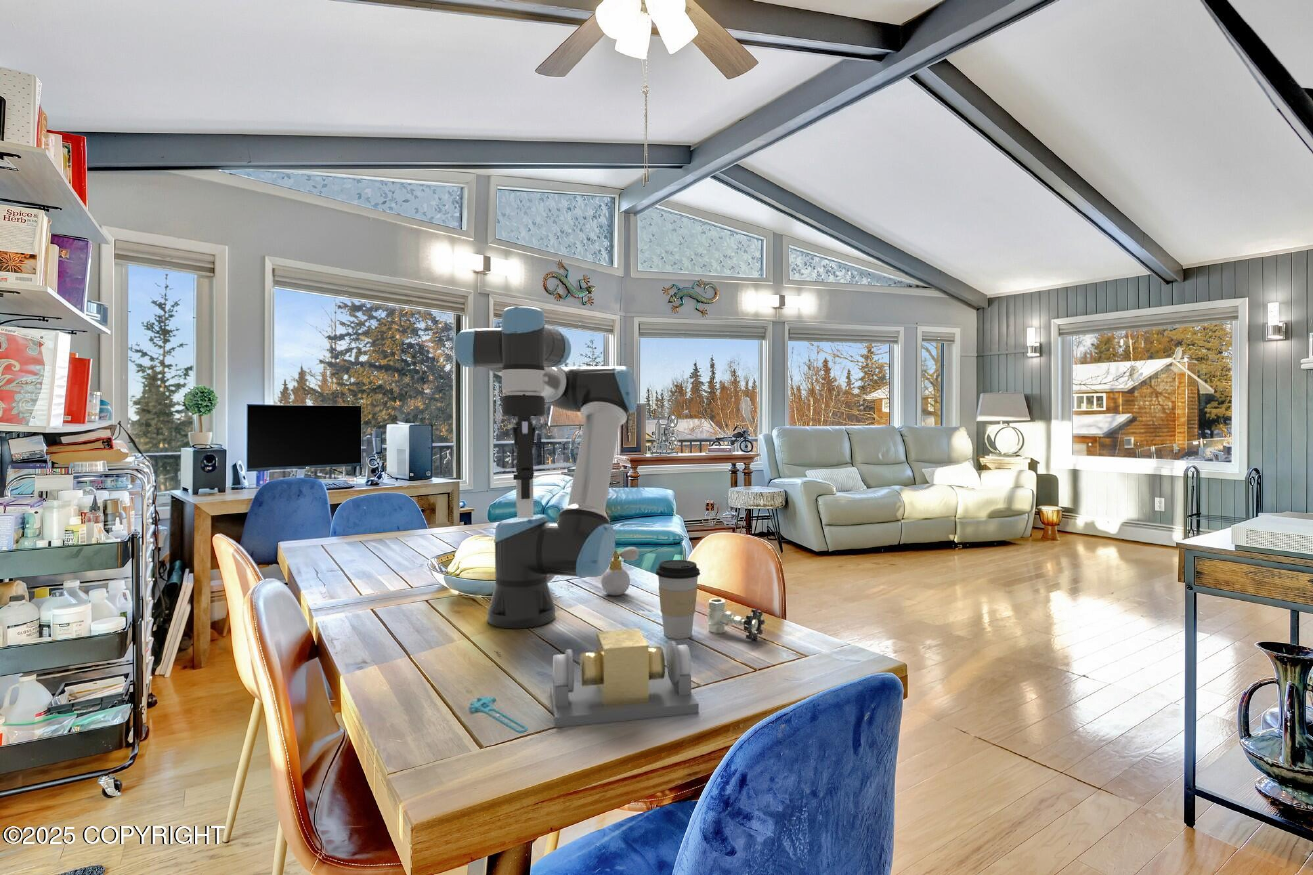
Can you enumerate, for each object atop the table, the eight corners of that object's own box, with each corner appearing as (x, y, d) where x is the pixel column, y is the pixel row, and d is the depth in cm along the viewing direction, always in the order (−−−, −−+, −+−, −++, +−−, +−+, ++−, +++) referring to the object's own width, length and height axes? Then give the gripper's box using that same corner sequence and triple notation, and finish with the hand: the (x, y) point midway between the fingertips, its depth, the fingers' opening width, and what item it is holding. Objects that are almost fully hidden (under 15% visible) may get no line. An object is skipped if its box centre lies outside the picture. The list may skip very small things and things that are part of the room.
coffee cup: (686, 645, 130) (686, 571, 130) (646, 636, 135) (646, 565, 135) (707, 631, 138) (708, 562, 138) (669, 624, 143) (670, 557, 143)
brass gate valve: (578, 687, 106) (578, 633, 106) (655, 680, 109) (656, 627, 109) (584, 708, 98) (584, 650, 98) (667, 700, 101) (667, 643, 101)
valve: (700, 632, 138) (747, 645, 130) (700, 602, 138) (747, 613, 130) (717, 625, 143) (764, 637, 135) (718, 595, 143) (765, 605, 135)
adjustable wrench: (461, 702, 102) (489, 693, 106) (461, 708, 102) (489, 698, 106) (510, 732, 92) (539, 721, 96) (510, 739, 92) (539, 727, 96)
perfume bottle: (595, 594, 167) (595, 548, 167) (622, 587, 174) (622, 543, 174) (614, 600, 162) (614, 552, 162) (642, 592, 169) (642, 547, 169)
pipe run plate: (550, 693, 107) (550, 638, 107) (679, 682, 112) (679, 629, 112) (555, 727, 95) (555, 666, 95) (698, 712, 100) (698, 654, 100)
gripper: (549, 392, 105) (549, 522, 106) (541, 396, 129) (541, 502, 130) (501, 391, 103) (502, 523, 104) (502, 396, 128) (503, 503, 128)
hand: (524, 512), depth 117 cm, fingers open, 13 cm apart
